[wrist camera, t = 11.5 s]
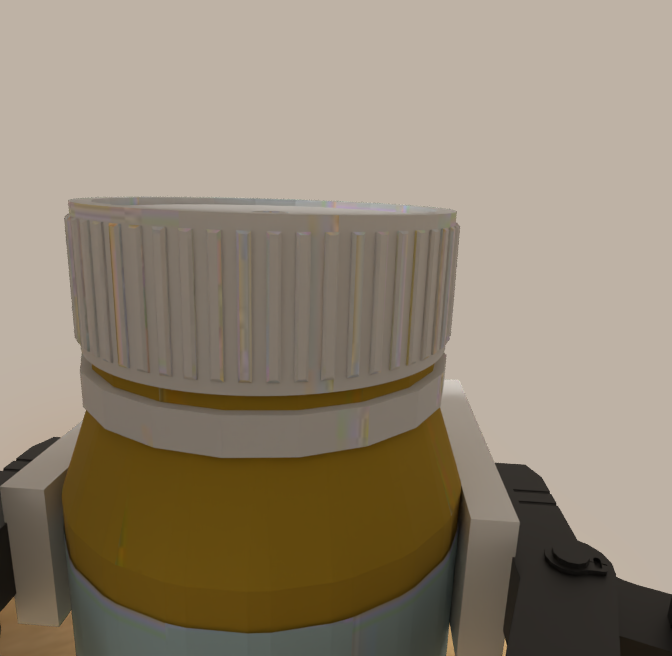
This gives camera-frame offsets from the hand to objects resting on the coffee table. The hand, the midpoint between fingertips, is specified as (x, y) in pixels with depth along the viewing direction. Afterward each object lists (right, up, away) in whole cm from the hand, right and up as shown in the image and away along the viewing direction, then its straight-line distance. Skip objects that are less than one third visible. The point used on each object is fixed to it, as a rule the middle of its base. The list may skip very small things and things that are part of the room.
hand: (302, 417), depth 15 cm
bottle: (-1, -10, -2) cm, 10 cm away
